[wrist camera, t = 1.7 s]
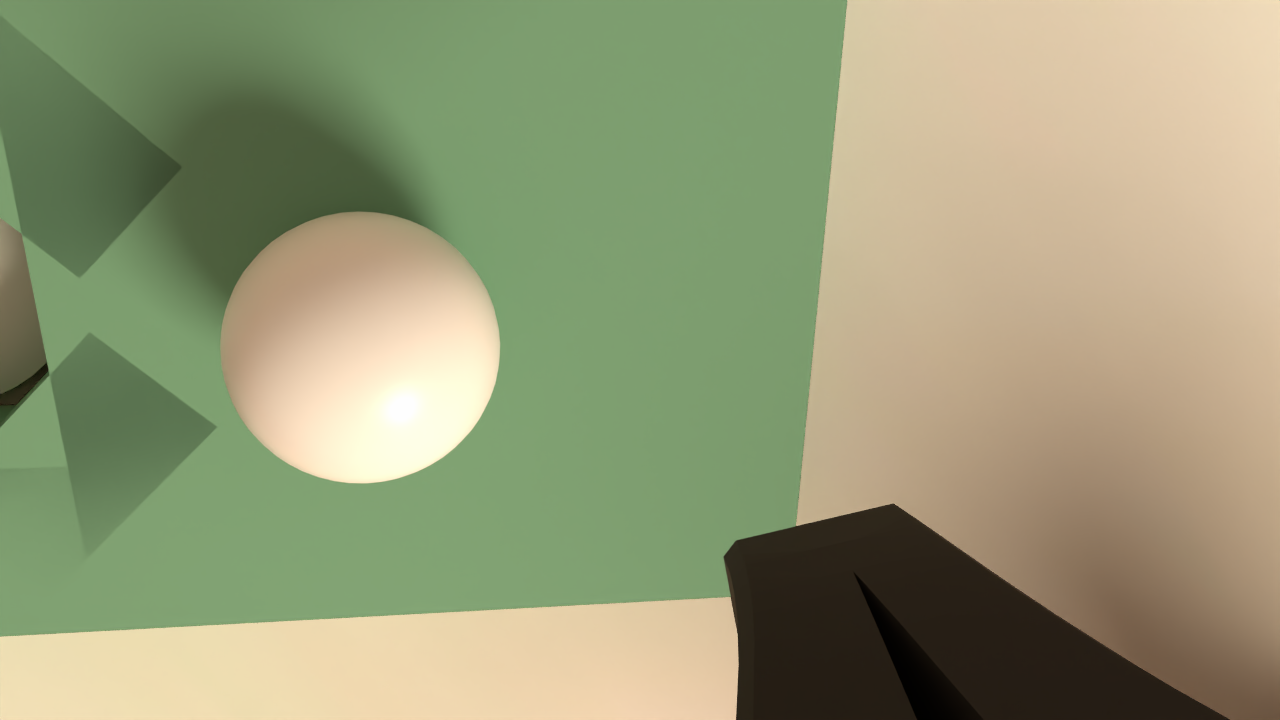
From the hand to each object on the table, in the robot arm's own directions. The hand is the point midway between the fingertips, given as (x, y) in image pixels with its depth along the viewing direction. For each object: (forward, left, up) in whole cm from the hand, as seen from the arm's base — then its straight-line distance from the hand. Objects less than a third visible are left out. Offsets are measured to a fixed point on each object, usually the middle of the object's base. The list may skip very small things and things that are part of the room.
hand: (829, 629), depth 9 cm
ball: (+4, 0, -6) cm, 7 cm away
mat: (+6, 0, -9) cm, 11 cm away
